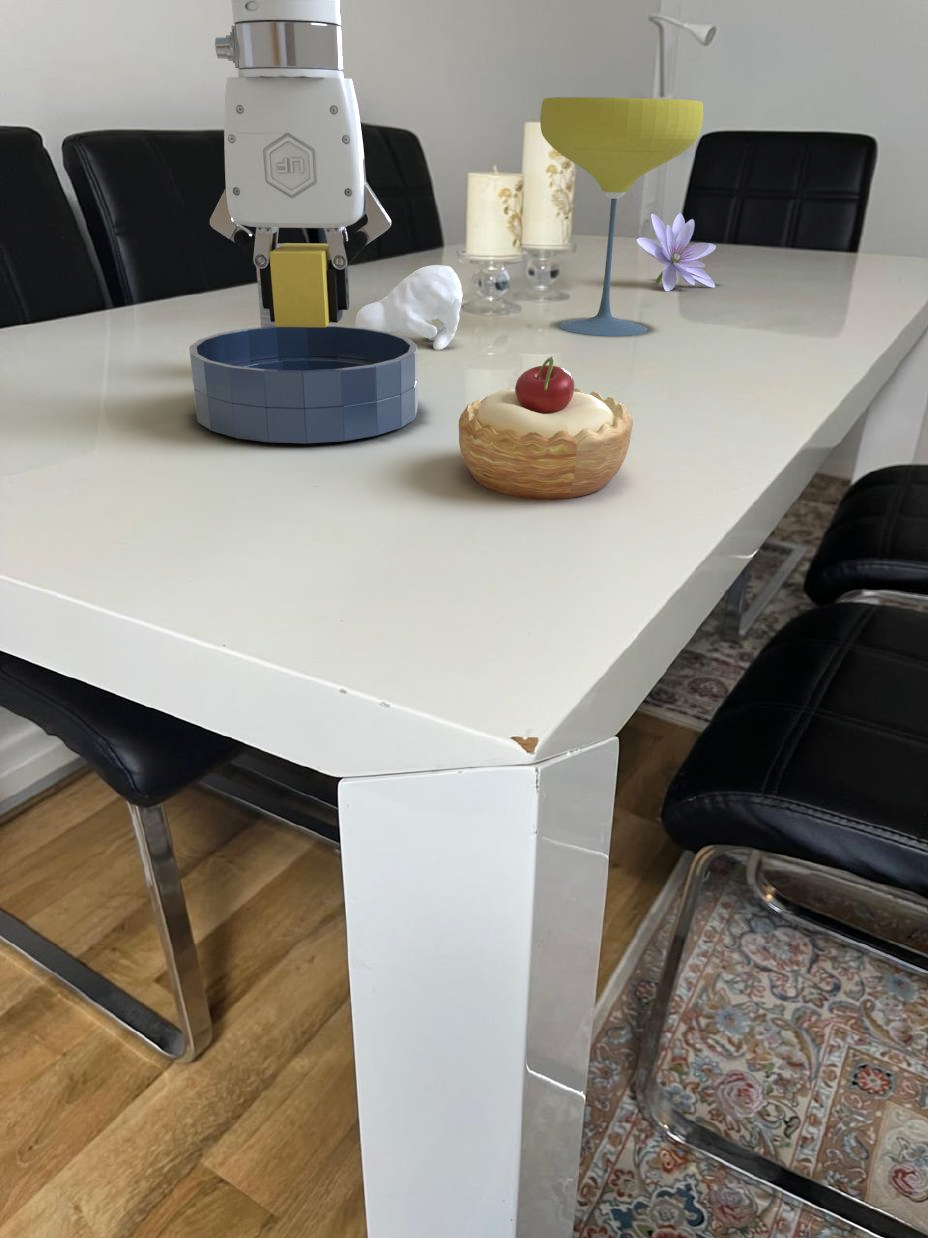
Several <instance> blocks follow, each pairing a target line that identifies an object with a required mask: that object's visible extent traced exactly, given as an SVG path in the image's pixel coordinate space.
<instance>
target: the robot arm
mask: <svg viewBox="0 0 928 1238" xmlns="http://www.w3.org/2000/svg"><path fill="white" fill-rule="evenodd" d="M231 8H232V20H233V24H234V25H231V31H229V34H226V35H225V37H224V36H223V37H222V36H221V37H220V36H219V37H215V40H214V47H215V48H214V49H215V53H216V57H217V58H218V59H223V60H224V59H227V60H228V61H229V62H232V63H233V64H234V68H235V69H237V75H238V76H229V77H226V82H225V93H224V111H223V112H224V115H223V117H224V119H223V121H224V122H223V136H224V143H223V145H224V148H223V149H224V174H225V175H224V176H225V179H224V180H225V188H224V190H223V192H222V194H221V196H220V198H219V200H218V202H217V204H216V206H215V208H214V211H213V212H212V214H211V216H210V218H209V225H210V227H211V228H212V229H213V230H215V231H216V232H217V233H220V234H221V235H222V236H223V237H225V238H227V239H228V240H230V241H232V242H233V243H234V244H235V245H236V246H237V247H238V248H239V249H240V250H241V251H242V252H243V253H244V254H245V255H246V256H247V257H248V258H249V259H250V260H251V261H252V262H253V265H255V267H258V268H259V269H260V281H261V292H262V304H263V308H264V309H269V310H270V320H271V322H275V316H274V304H273V292H272V279H271V267H270V255H269V253H270V252H271V251H273V250H275V249H276V248H277V244H278V240H279V231H280V229H281V228H285V229H287V228H288V229H291V228H292V229H294V228H295V229H296V228H297V229H305V228H306V229H323V231H324V234H325V240H326V244H328V248H329V252H330V257H331V260H330V261H329V270H328V271H327V292H328V309H329V321H331V322H330V324H332V323H333V324H335V323H336V324H337V323H339V322H340V321H341V319H342V318H343V316H344V315H343V314H344V311H348V310H349V309H350V286H349V265H350V263H352V261H353V260H355V258H356V257H357V256H358V255H359V254H360V253H361V251H362V250H363V249H364V248H365V247H366V246H367V245H368V244H370V243H371V242H372V241H374V240H375V239H377V238H378V237H379V236H381V235H382V234H384V233H385V232H387V231H388V230H389V229H390V228H391V227H392V220H391V218H390V216H389V215H388V213H387V212H386V210H385V208H384V207H383V205H382V204H381V202H380V200H379V199H378V197H377V196H376V194H375V192H374V191H373V190H372V188H371V186H370V185H369V183H368V181H367V174H366V163H365V152H364V142H363V134H362V127H361V120H360V119H361V118H360V112H359V107H358V106H359V105H358V101H357V95H356V91H355V87H354V82H353V79H352V78H347V77H344V63H343V41H342V40H343V39H342V38H343V37H342V18H341V0H231ZM365 215H366V217H367V222H366V224H365V225H363V226H362V227H360V228H359V229H358V230H356V231H355V232H354V233H353V234H352V235H351V236H348V232H347V228H346V227H349V226H351V225H354V224H356V223H357V222H358V221H359V220H361V219H362V218H363V217H364V216H365ZM245 226H246V227H251V228H255V233H254V232H253V231H252V230H251V229H249V228H246V227H245Z"/></svg>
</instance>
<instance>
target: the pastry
mask: <svg viewBox="0 0 928 1238" xmlns="http://www.w3.org/2000/svg"><path fill="white" fill-rule="evenodd" d="M633 426H634V420H633V418H632V415H631V414H630V411H628V409H627V407H626V406H625V405H624V404H623V403H621V402H619V403H618V402H617V401H616V400H615V399H614V397H613V398H612V397H610V396H608V397H607V398H606V399H605V398H604V397H602V395H601V394H600V393H599V392H596V391H591V392H590V393H589V394H588V393H584V392H583V391H582V390H581V389H579V388H575V381H574V378H573V376H572V375H571V373H570V372H569V371H568V370H566V369H565V368H564V367H560V366H557V365H554V357H553V356H550V357H548V358H547V359H546V360H545V361H544V362H543V363H542V365H538V366H534V367H530V368H529V369H527V370H526V371H524V372H522V374H521V375H519V377H518V378H517V380H516V383H515V386H514V388H509V389H502V390H498V391H496V392H494V393H492V394H488V395H487V396H485V397H484V398H483V399H482V400H481V401H480V400H479V399H477V400H474V401H473V402H472V403H469V404H467V405H466V406H465V408H464V410H463V411H462V412H461V414H460V416H459V419H458V445H459V449H460V454H461V456H462V460H463V462H464V464H465V466H466V468H467V470H468V471H469V473H470V474H471V475H472V477H473V478H474V480H475V481H476V482H477V483H478V484H479V485H481V486H482V487H484V488H486V489H488V490H490V491H493V492H495V493H498V494H502V495H506V496H511V497H518V498H523V499H524V498H525V499H533V500H563V499H565V500H566V499H573V498H579V497H582V496H589V495H590V494H594V493H596V492H598V491H600V490H602V489H604V488H605V487H606V486H608V484H609V483H610V482H611V481H612V480H613V478H614V477H615V476H616V474H617V473H618V472H619V471H620V469H621V467H622V465H623V463H624V461H625V459H626V457H627V454H628V451H629V447H630V443H631V436H632V432H633Z"/></svg>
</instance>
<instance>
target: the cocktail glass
mask: <svg viewBox="0 0 928 1238" xmlns="http://www.w3.org/2000/svg"><path fill="white" fill-rule="evenodd" d="M703 121H704V103H703V101H702V100H693V99H677V98H676V99H675V98H674V99H673V98H648V97H647V98H645V97H599V96H598V97H593V96H592V97H591V96H588V97H587V96H586V97H585V96H583V97H581V96H579V97H578V96H577V97H575V96H574V97H571V96H570V97H569V96H566V97H564V96H563V97H562V96H561V97H560V96H559V97H544V98H543V100H542V102H541V107H540V118H539V122H540V132H541V134H542V137H543V138H544V140H545V141H546V142H547V143H548V144H549V146H551V147H552V149H554V150H555V151H556V152H557V153H558V154H560V155H561V156H563V157H564V158H566V159H567V160H569V161H570V162H571V163H573V164H575V165H576V166H578V167H579V168H581V169H583V170H584V171H585V172H587V174H589V175H590V176H592V177H593V179H595V181H596V182H597V184H598V185H599V187H600V189H601V191H602V192H603V194H604V195H605V197H606V198H608V199H610V211H609V223H608V234H607V235H608V237H607V245H606V256H605V267H604V277H603V286H602V292H601V293H602V294H601V299H600V304H599V308H598V311H597V313H596V315H595V316H592V317H589V318H579V319H571V320H567V321H563V322H561V323H559V325H558V326H559V328H560V329H561V330H563V331H566V332H569V333H573V334H579V335H583V336H584V335H585V336H597V337H629V336H630V337H631V336H637V335H641V334H642V335H643V334H645V333H647V332H648V328H647V327H646V326H644V325H642V324H640V323H636V322H632V321H629V320H623V319H618V318H617V317H616V318H615V317H614V316H613V315H612V313H611V302H610V301H611V300H610V296H611V295H610V293H611V292H610V289H611V275H612V274H611V273H612V259H613V246H614V233H615V222H616V212H617V211H616V210H617V201H618V199H621V198H623V196H625V195H626V193H627V192H628V191H629V190H630V188H631V187H632V185H633V184H634V183H635V182H636V181H637V180H638V179H640V178H641V177H642V176H644V175H646V174H647V173H649V172H651V171H652V170H654V169H656V168H658V167H660V166H662V165H664V164H666V163H667V162H670V161H671V160H673V159H675V158H676V157H678V156H680V155H681V154H683V153H684V152H685V151H687V150H688V149H689V148H690V147H692V145H693V144H694V143H696V141H697V140H698V138H699V137H700V135H701V132H702V127H703V123H704V122H703Z"/></svg>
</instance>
